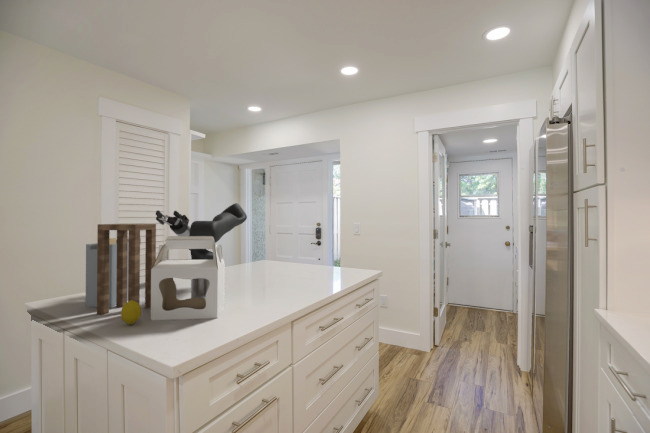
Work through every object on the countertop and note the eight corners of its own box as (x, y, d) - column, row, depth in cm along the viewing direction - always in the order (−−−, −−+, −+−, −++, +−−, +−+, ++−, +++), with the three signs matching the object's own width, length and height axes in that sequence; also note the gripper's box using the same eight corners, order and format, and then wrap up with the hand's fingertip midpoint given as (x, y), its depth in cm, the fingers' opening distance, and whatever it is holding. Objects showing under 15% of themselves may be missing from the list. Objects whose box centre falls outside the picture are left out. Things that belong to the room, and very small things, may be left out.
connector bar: (141, 244, 143) (141, 235, 143) (108, 249, 123) (108, 238, 123) (133, 244, 143) (133, 235, 143) (98, 248, 123) (98, 238, 123)
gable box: (149, 320, 105) (150, 237, 105) (164, 309, 118) (165, 235, 118) (218, 318, 108) (218, 237, 108) (225, 307, 121) (225, 235, 121)
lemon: (144, 322, 103) (145, 298, 103) (133, 328, 98) (133, 302, 98) (129, 321, 104) (129, 297, 104) (116, 327, 98) (116, 302, 98)
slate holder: (134, 297, 134) (135, 241, 134) (110, 307, 120) (110, 244, 120) (112, 297, 135) (112, 241, 135) (85, 306, 121) (86, 244, 121)
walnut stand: (155, 305, 122) (155, 223, 122) (134, 315, 110) (135, 224, 110) (120, 305, 123) (121, 223, 123) (96, 314, 111) (97, 224, 111)
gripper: (192, 234, 160) (178, 219, 146) (165, 234, 161) (148, 218, 147) (196, 221, 164) (182, 205, 150) (169, 221, 164) (153, 205, 150)
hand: (165, 212), depth 148 cm, fingers open, 8 cm apart
